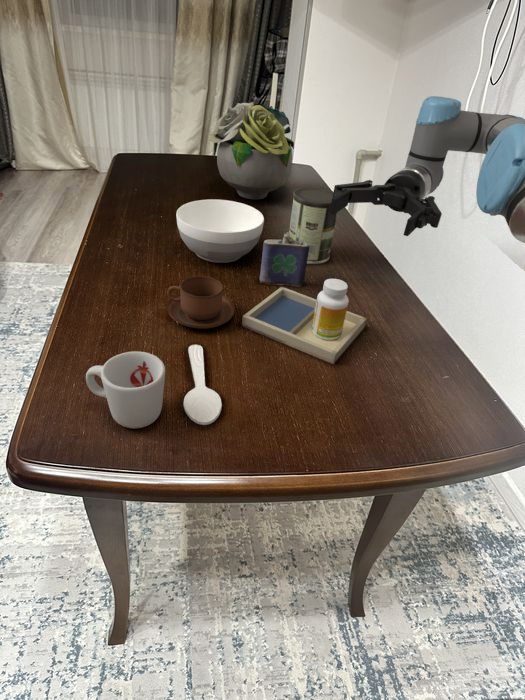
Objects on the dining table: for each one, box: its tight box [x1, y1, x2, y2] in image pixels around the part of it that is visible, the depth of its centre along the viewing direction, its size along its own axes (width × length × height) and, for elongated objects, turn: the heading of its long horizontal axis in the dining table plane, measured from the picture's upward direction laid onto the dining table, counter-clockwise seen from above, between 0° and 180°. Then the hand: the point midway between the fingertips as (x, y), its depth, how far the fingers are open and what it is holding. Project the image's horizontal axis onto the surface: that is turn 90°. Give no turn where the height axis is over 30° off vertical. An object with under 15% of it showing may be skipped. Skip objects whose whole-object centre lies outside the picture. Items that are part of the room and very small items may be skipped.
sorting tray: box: [241, 286, 367, 365], centre depth 88 cm, size 18×14×2 cm
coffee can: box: [288, 186, 339, 265], centre depth 110 cm, size 10×10×14 cm
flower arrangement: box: [208, 101, 295, 200], centre depth 136 cm, size 25×25×24 cm
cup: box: [85, 351, 166, 429], centre depth 65 cm, size 11×8×8 cm
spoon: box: [182, 344, 223, 426], centre depth 73 cm, size 5×18×1 cm, turn 11°
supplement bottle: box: [312, 278, 350, 340], centre depth 84 cm, size 5×5×10 cm
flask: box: [259, 231, 309, 287], centre depth 99 cm, size 9×3×11 cm, turn 91°
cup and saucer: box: [166, 275, 236, 330], centre depth 87 cm, size 12×12×6 cm
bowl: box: [176, 199, 265, 264], centre depth 108 cm, size 19×19×9 cm
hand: (368, 217), depth 83 cm, fingers open, 13 cm apart
